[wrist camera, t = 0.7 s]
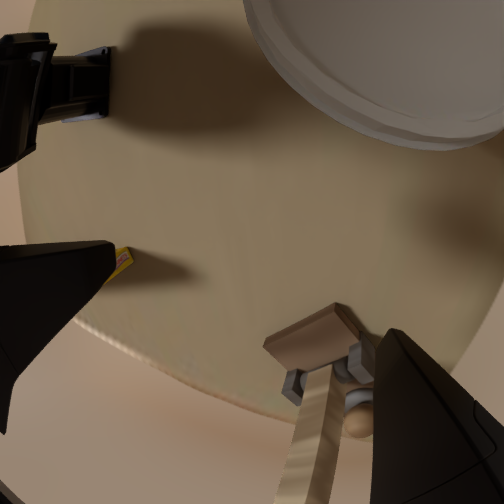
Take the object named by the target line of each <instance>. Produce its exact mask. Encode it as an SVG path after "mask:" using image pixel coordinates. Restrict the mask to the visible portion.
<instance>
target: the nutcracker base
mask: <svg viewBox="0 0 504 504" xmlns="http://www.w3.org/2000/svg"><path fill="white" fill-rule="evenodd" d="M263 348H264V349H265V350H267V351H268V352H269V353H270V354H271V355H272V356H273V357H274V358H275V359H276V360H277V361H278V362H279V363H280V364H281V365H283V366H284V367H285V368H286V369H287V370H288V372H287V375H286V379H285V382H284V385H283V389H282V392H281V393H282V394H283V395H284V396H285V397H286V398H288V399H289V400H290V401H291V402H292V403H294V404H295V405H296V406H301V403H302V399H303V394H304V391H303V389H302V387H301V383H300V378H301V375H302V374H303V373H306V372H308V371H311V370H313V369H316V368H319V367H321V366H324V365H326V364H328V363H331V362H333V361H336V360H338V359H340V358H343V357H345V356H347V357H348V369H347V370H348V371H349V372H350V373H351V374H352V375H353V376H354V377H355V380H353V381H350V382H347V390H346V400H345V409H344V428H345V430H346V432H347V433H348V434H349V435H351V436H352V437H355V438H365V437H368V436H370V435H372V434H373V383H374V371H375V356H376V352H375V347H374V346H373V345H372V344H371V342H370V341H369V340H368V339H367V337H366V336H365V335H364V334H363V332H362V331H361V332H359V331H358V330H357V328H356V327H355V326H354V325H353V324H352V322H351V321H350V320H349V319H348V317H347V316H346V315H345V314H344V313H343V311H342V310H341V309H340V308H339V307H338V305H337V304H336V303H333V304H331V305H329V306H328V307H326V308H324V309H322V310H320V311H318V312H316V313H314V314H313V315H311V316H309V317H307V318H305V319H303V320H301V321H299V322H297V323H295V324H293V325H291V326H289V327H287V328H285V329H283V330H281V331H279V332H277V333H275V334H273V335H271V336H269V337H267V338H266V339H265V342H264V345H263Z"/></svg>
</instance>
